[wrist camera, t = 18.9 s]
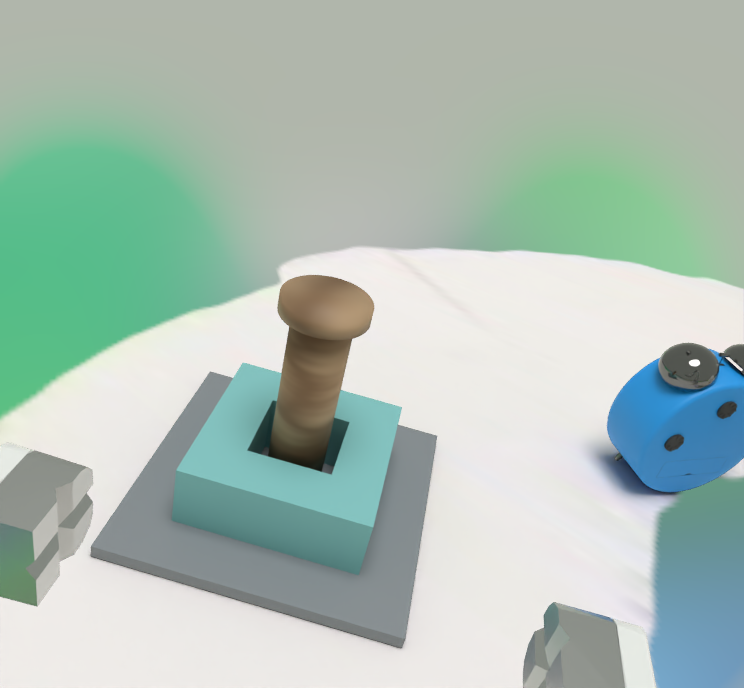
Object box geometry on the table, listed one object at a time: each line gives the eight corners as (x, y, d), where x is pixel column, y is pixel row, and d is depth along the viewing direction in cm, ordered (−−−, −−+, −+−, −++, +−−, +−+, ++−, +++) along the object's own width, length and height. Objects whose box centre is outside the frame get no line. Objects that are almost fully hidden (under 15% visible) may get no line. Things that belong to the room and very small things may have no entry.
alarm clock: (689, 450, 74) (761, 331, 66) (728, 493, 70) (810, 370, 62) (584, 454, 70) (647, 327, 62) (617, 500, 65) (691, 369, 57)
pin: (338, 467, 59) (381, 289, 50) (320, 522, 54) (365, 334, 45) (264, 447, 60) (294, 266, 51) (239, 500, 54) (267, 308, 45)
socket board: (434, 444, 66) (451, 393, 63) (401, 648, 48) (423, 591, 45) (209, 380, 67) (215, 327, 64) (90, 556, 49) (90, 493, 45)
